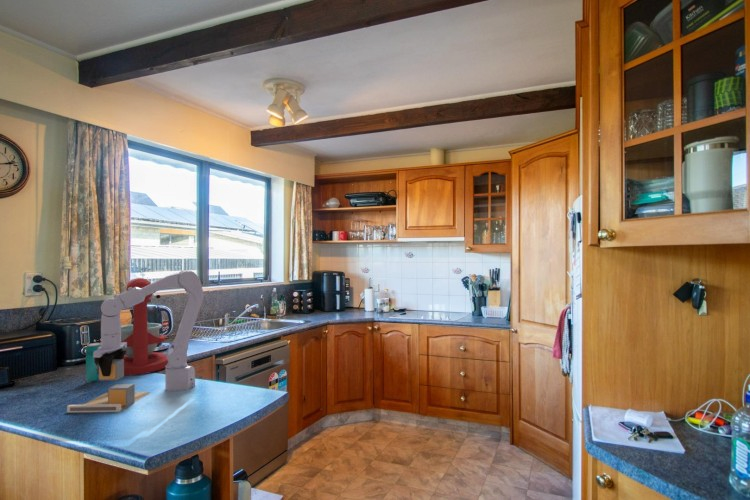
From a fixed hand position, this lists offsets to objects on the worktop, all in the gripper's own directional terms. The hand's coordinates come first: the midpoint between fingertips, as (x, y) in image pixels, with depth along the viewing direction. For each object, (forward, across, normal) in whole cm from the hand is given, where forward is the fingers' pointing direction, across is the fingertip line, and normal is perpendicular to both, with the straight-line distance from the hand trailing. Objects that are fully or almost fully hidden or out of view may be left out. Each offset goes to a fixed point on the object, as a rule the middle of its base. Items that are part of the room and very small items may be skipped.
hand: (110, 373), depth 136 cm
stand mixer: (+10, -44, -16) cm, 48 cm away
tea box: (+2, 0, 0) cm, 2 cm away
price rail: (+8, +12, +3) cm, 15 cm away
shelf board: (+9, +3, +3) cm, 10 cm away
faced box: (+8, +6, +8) cm, 13 cm away
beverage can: (+10, -22, -21) cm, 32 cm away
